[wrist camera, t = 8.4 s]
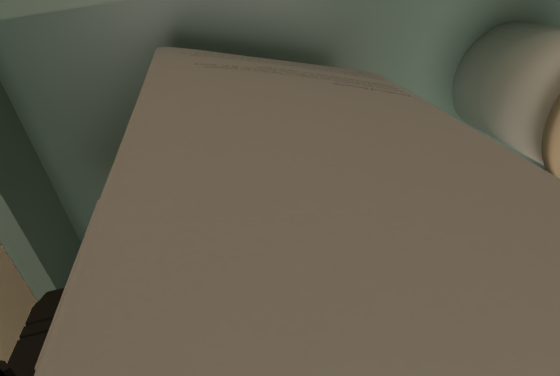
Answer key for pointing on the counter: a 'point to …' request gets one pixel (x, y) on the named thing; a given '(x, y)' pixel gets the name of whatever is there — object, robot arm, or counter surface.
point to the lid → (552, 140)
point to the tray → (191, 35)
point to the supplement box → (309, 235)
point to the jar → (510, 84)
